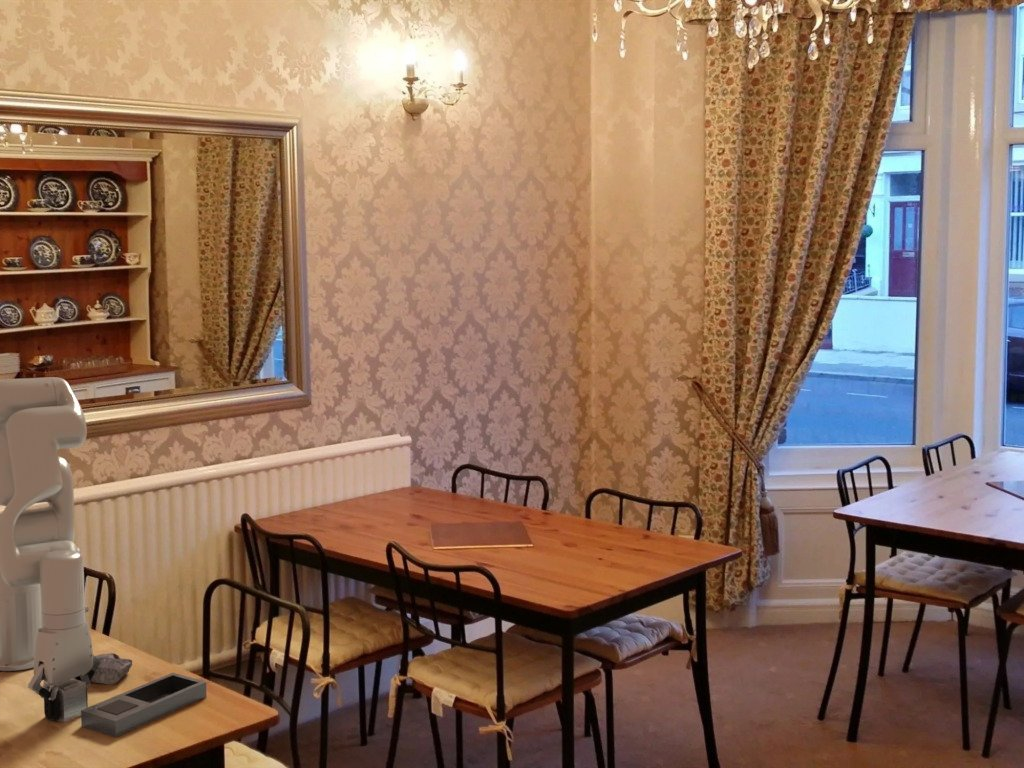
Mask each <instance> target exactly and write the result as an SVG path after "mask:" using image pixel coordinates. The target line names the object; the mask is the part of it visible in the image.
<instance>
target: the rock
mask: <svg viewBox="0 0 1024 768" xmlns="http://www.w3.org/2000/svg"><path fill="white" fill-rule="evenodd" d="M94 656H95V657H96V658H97V659H99V660H100V662H101V663H100V665H99V667H98V668H97V670H96V671H95V673H94V675H93V677H92V679H91V680H90V683H96V684H103V685H113V686H115V685H116V684H117V683H118V682H119V681H120V680H121V679H122V678H124V677H125V676H126V675H127V674H128V673H129V672H130V670H131V667H132V666H133V659H130V658H129V659H128V658H121V657H120V656H119V655H118V654H117V653H114V652H109V653H103V654H97V655H94ZM73 679H74V678H73Z"/></svg>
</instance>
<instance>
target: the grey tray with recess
mask: <svg viewBox="0 0 1024 768" xmlns="http://www.w3.org/2000/svg"><path fill="white" fill-rule="evenodd" d="M204 698H207V681H205V680H201V679H197V678H194V677H190V676H186V675H183V674H179V673H176V672H171V673H168V674H166V675H164V676H162V677H161V676H160V677H158V678H156V679H154V680H151V681H149V682H146V683H144V684H142V685H139V686H137V687H135V688H132V689H129V690H127V691H125V692H122V693H120V694H118V695H115V696H112V697H110V698H107V699H105V700H103V701H100V702H98V703H95V704H93V705H90V706H89V707H87V708H85V709H83V710H81V716H80V719H81V721H80V722H81V727H83V728H86V729H90V730H92V731H95V732H98V733H102V734H104V735H107V736H111V737H113V738H118V737H120V736H122V735H125V734H127V733H129V732H131V731H133V730H135V729H138V728H140V727H143V726H145V725H146V724H149V723H151V722H153V721H156V720H158V719H160V718H163V717H164V716H167V715H169V714H171V713H174V712H176V711H179V710H180V709H182V708H184V707H187V706H189V705H192V704H193V703H196V702H199V701H201V700H202V699H204Z"/></svg>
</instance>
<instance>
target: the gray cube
mask: <svg viewBox="0 0 1024 768" xmlns="http://www.w3.org/2000/svg"><path fill="white" fill-rule="evenodd" d="M50 689H51V685H50V688H49V691H50ZM56 699H58V700H59V720H57V721H58V722H62V723H66V722H69V721H71V719H72V720H73V718H74V719H76V717H77V718H78V716H79V717H81V710H83V709H85V708H88V707H87V703H88V701H87V702H86V682H83V681H79V680H76V679H73V678H72V679H70V680H67V681H64V682H62V683H59V686H58V690H57V694H56Z"/></svg>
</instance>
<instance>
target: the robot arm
mask: <svg viewBox="0 0 1024 768" xmlns="http://www.w3.org/2000/svg"><path fill="white" fill-rule="evenodd" d="M85 417H86V416H85V414H84V411H83V409H82V406H81V404H80V402H79V401H78V398H77V396H76V395H75V393H74V391H73V390H72V387H71V385H70V384H69V382H68V381H67V380H65V379H64V378H62V377H57V376H56V377H55V376H52V377H51V376H49V377H32V378H31V377H29V378H26V377H25V378H7V379H0V506H3V507H4V509H3V511H2V512H1V513H0V671H1V672H14V671H16V672H17V671H24V670H28V669H33V676H32V677H31V680H30V681H29V683H28V685H27V688H28V689H29V690H31V691H33V692H34V693H35V694H37V695H38V696H39V697H40V698H41V699H43V709H44V717H45V718H46V719H49V720H51V721H53V722H54V721H55V722H56V721H58V720H59V700H58V699H56V694H57V690H58V686H59V683H62V682H64V681H67V680H70V679H72V678H74V679H76V680H79V681H83V682H86V702H87V708H88V704H89V703H88V700H89V699H88V688H89V687H90V686H91V682H90V680H91V679H92V677H93V675H94V673H95V671H96V670H97V668H98V667H99V665H100V663H101V662H100V660H99V659H97V658H96V657H95V656H96V655H94V653H93V652H94V651H93V650H94V649H93V641H92V635H91V630H90V627H89V623H88V620H86V613H89V606H88V604H86V601H85V599H86V598H85V572H84V570H85V568H84V558H83V555H82V551H81V549H80V548H79V547H78V546H77V544H76V543H74V542H75V538H76V522H75V519H76V517H75V495H74V493H75V492H74V479H73V478H74V477H73V474H72V473H73V472H72V469H71V467H70V463H68V461H67V460H66V459H65V458H64V457H62V456H59V453H58V450H61V449H63V450H64V449H72V448H73V449H74V448H79V447H81V446H83V445H84V444H85V442H86V440H87V436H88V429H87V428H88V427H87V422H86V421H87V420H86V418H85ZM40 503H41V504H42V503H47V504H48V507H42V508H41V507H40V508H33V509H28V508H30V507H32V506H33V505H35V504H40ZM41 684H42V685H41ZM50 685H51V689H50V691H49V688H50Z"/></svg>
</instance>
